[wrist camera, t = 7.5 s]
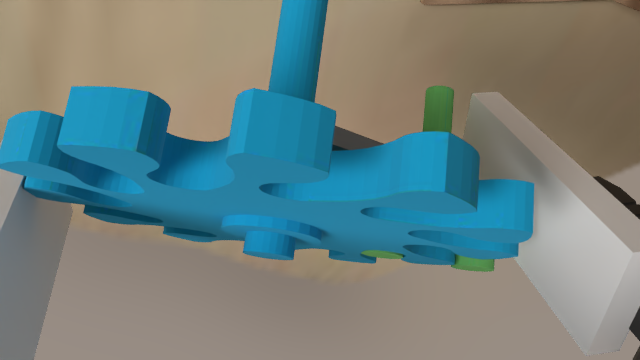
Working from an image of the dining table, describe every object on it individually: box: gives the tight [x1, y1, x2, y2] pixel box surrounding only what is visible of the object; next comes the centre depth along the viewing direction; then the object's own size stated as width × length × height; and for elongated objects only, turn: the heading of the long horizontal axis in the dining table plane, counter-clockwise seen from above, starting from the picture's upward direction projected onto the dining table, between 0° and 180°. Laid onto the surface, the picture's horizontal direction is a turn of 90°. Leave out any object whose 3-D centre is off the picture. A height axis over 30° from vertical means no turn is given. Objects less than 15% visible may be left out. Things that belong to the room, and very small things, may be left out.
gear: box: [0, 0, 534, 272], centre depth 12 cm, size 11×6×10 cm
